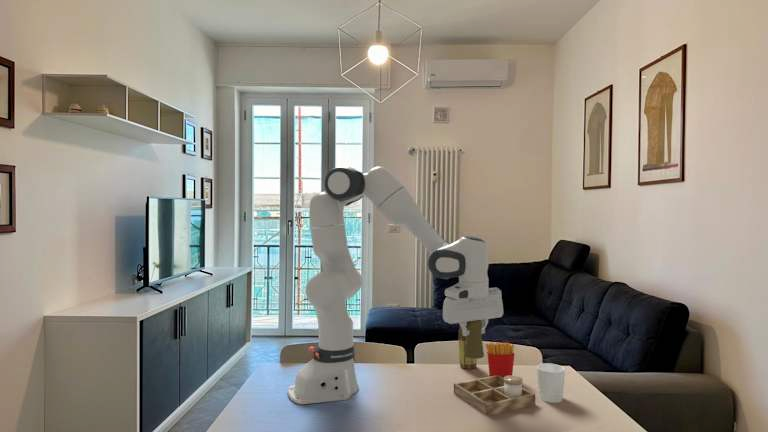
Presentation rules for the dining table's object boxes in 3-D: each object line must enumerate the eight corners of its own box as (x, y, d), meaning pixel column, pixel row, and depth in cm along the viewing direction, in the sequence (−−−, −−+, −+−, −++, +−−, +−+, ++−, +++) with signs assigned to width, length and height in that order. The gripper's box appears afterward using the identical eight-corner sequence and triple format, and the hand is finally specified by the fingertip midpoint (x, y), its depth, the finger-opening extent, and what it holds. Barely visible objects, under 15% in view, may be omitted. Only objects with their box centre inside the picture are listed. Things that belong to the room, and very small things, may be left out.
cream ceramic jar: (511, 406, 137) (511, 383, 137) (499, 399, 142) (499, 377, 141) (526, 403, 139) (526, 380, 139) (514, 396, 144) (514, 374, 144)
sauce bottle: (479, 365, 173) (479, 312, 172) (472, 371, 168) (472, 315, 167) (462, 362, 176) (462, 310, 176) (455, 367, 171) (455, 313, 170)
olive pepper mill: (484, 359, 140) (484, 322, 140) (463, 357, 142) (463, 321, 141) (483, 352, 146) (483, 317, 146) (464, 351, 147) (464, 316, 147)
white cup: (547, 407, 138) (547, 373, 138) (531, 396, 145) (531, 364, 145) (570, 404, 140) (570, 370, 140) (553, 393, 147) (554, 362, 147)
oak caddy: (487, 418, 131) (487, 405, 131) (453, 395, 147) (453, 383, 146) (535, 406, 138) (535, 394, 138) (498, 386, 154) (498, 374, 154)
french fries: (512, 378, 160) (512, 340, 160) (515, 383, 156) (515, 344, 155) (485, 378, 161) (485, 340, 160) (487, 383, 156) (487, 344, 156)
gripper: (494, 285, 151) (494, 328, 151) (439, 290, 142) (440, 336, 143) (507, 288, 145) (507, 333, 145) (451, 294, 136) (451, 341, 137)
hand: (473, 334), depth 144 cm, fingers closed on olive pepper mill, 4 cm apart
